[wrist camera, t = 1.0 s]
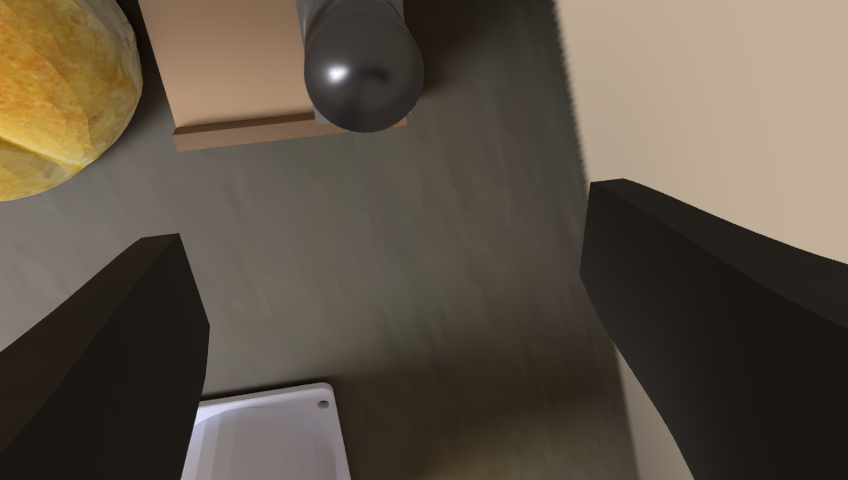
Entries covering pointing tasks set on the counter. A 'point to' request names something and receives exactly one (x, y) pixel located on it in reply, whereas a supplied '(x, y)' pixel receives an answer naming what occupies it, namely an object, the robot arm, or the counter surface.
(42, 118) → the bread roll
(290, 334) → the counter surface
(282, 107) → the press bed
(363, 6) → the jaw
